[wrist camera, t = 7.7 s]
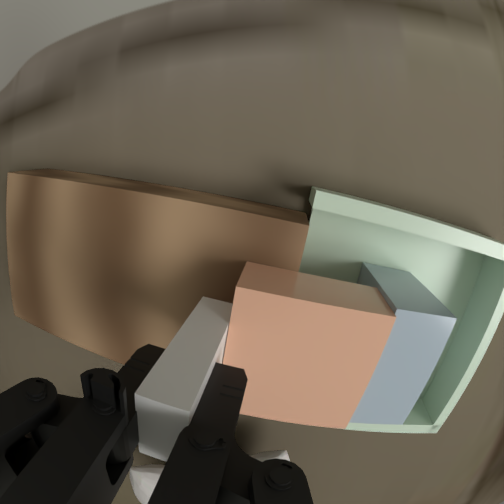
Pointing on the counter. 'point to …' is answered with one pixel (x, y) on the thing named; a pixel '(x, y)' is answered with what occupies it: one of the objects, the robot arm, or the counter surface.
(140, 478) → the toy
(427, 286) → the tray
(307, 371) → the tile
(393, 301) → the tile
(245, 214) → the board
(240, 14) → the counter surface
